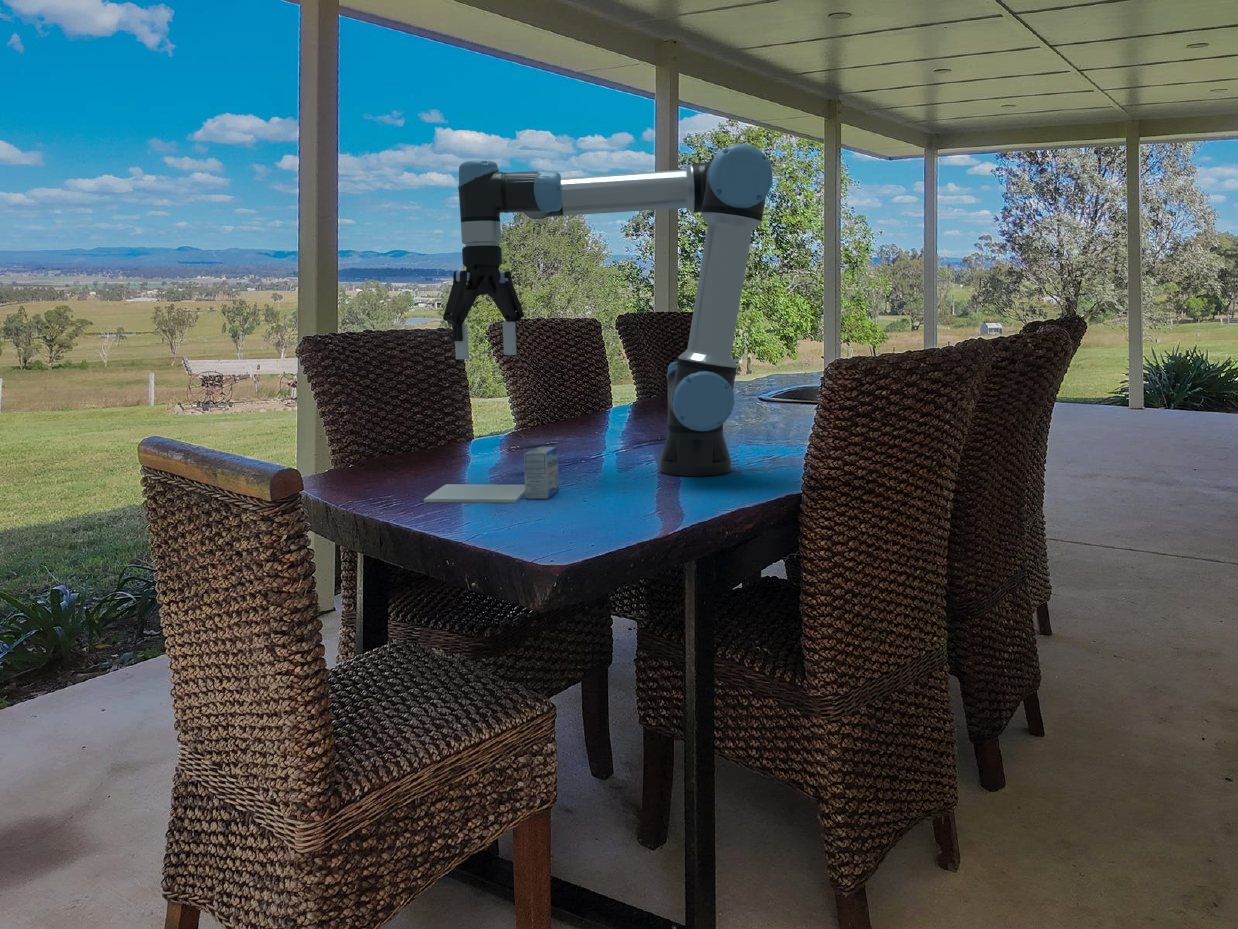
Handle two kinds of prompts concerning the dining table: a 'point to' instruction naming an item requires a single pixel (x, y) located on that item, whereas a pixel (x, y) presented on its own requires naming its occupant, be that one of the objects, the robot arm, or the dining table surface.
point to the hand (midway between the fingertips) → (487, 357)
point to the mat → (477, 493)
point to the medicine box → (541, 473)
